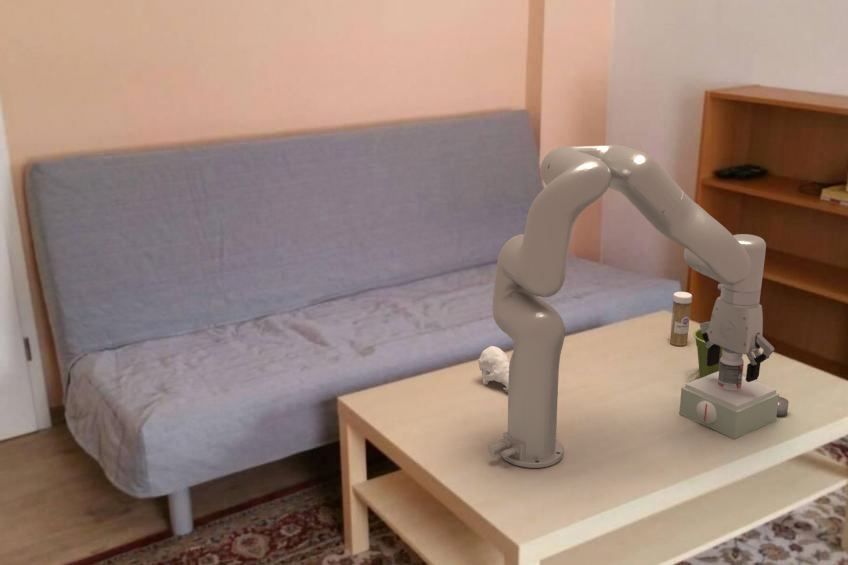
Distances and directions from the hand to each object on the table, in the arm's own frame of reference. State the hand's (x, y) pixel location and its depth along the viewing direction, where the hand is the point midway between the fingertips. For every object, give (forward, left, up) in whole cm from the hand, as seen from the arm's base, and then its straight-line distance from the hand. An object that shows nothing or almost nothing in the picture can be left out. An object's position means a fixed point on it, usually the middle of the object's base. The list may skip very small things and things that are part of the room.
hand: (731, 372), depth 186 cm
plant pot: (+13, +13, -11) cm, 21 cm away
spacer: (+10, -5, -10) cm, 15 cm away
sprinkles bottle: (+24, +33, -11) cm, 42 cm away
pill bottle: (0, 0, -4) cm, 4 cm away
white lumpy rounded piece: (-29, +40, -11) cm, 51 cm away
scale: (0, 0, -10) cm, 10 cm away
